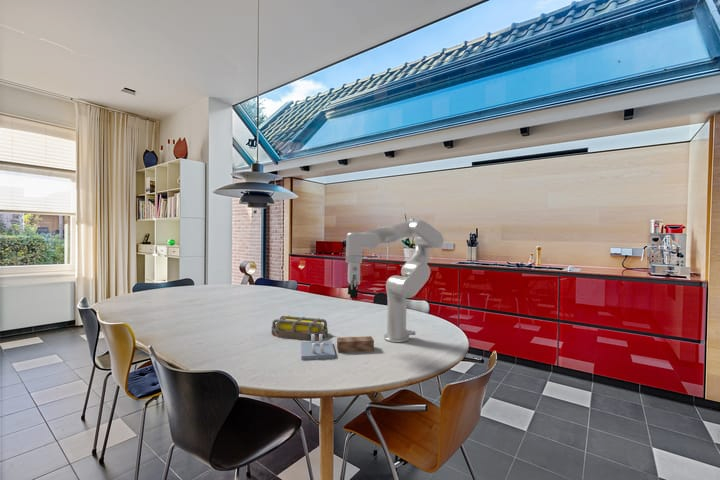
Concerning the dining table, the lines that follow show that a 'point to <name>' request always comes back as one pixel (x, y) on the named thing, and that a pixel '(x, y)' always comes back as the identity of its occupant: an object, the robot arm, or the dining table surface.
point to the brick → (355, 344)
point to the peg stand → (317, 349)
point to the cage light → (299, 327)
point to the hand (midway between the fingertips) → (352, 296)
